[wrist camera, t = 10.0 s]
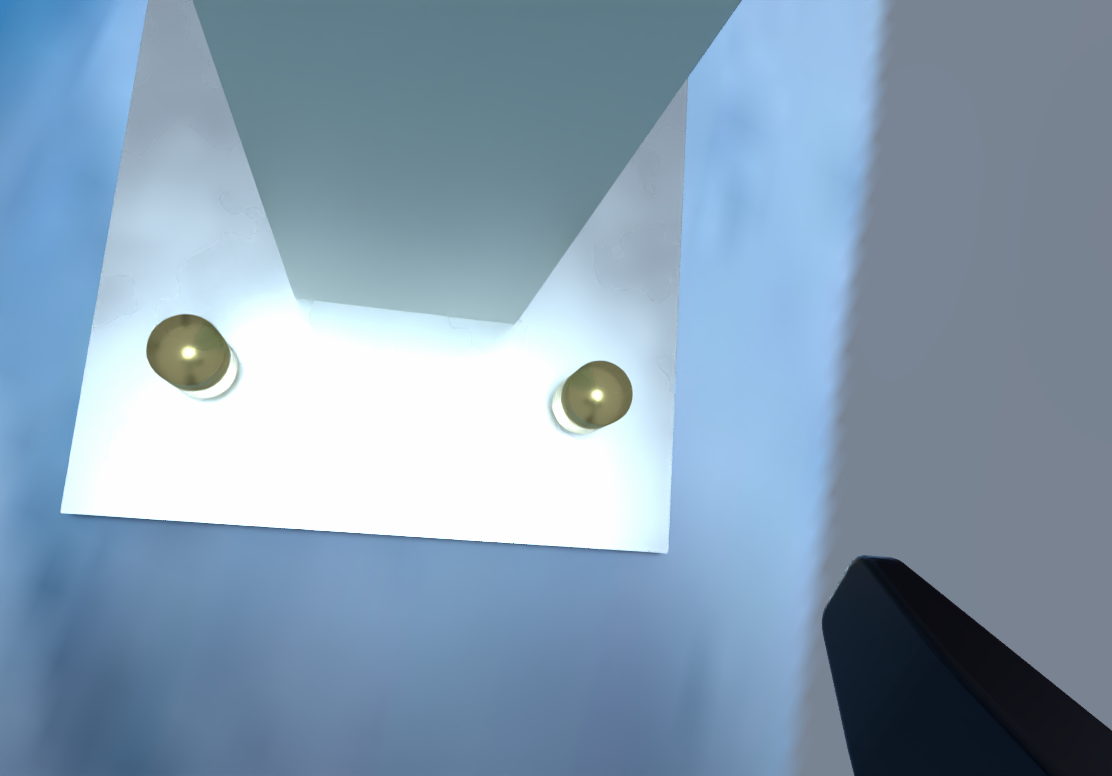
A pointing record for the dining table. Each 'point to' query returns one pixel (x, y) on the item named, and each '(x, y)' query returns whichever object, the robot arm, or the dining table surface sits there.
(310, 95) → the module
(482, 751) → the dining table surface
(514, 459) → the plate
